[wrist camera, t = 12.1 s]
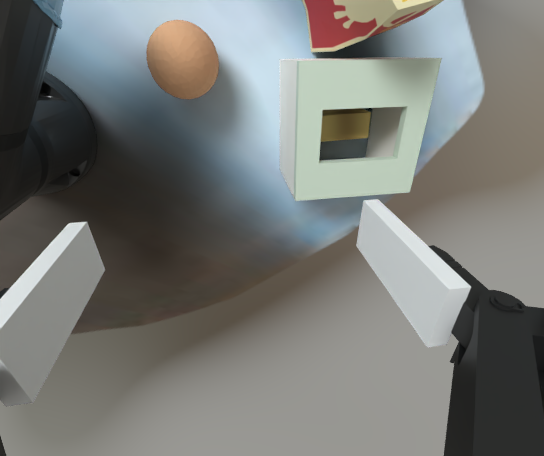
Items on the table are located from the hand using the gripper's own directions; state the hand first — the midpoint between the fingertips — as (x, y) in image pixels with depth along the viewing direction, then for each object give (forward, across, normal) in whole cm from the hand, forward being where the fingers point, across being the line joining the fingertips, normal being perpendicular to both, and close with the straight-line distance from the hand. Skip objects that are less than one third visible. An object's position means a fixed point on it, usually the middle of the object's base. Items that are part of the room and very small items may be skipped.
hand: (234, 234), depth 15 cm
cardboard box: (+29, +14, 0) cm, 32 cm away
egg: (+29, -4, +7) cm, 30 cm away
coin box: (+29, +14, 0) cm, 32 cm away
